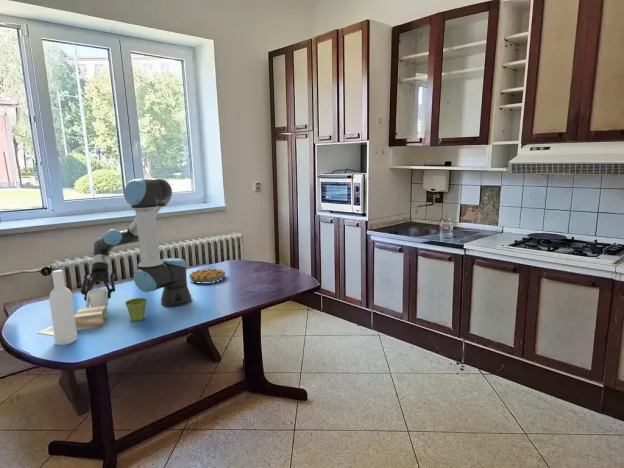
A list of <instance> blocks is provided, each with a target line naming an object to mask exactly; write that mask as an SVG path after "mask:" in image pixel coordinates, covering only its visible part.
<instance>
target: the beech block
mask: <svg viewBox="0 0 624 468" xmlns="http://www.w3.org/2000/svg"><path fill="white" fill-rule="evenodd" d="M107 312H108V311H107V309H106V306H99V307H91V306H89V308H87V307H83V308H82V307H79V309H78V310H77V311H76V312H75V313H74V315H75V323H76V331H79V330H86V329H87V330H89V329H90V330H91V329H97V328H103V327H104V325H105V322H106V321H107V318H108V313H107Z"/></svg>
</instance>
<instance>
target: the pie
mask: <svg viewBox="0 0 624 468" xmlns="http://www.w3.org/2000/svg"><path fill="white" fill-rule="evenodd" d="M225 275H226V272H225V271H224V270H223V269H217V268H214V269H212V268H209V269H206V268H205V269H202V270H201V269H198V270H196V271H192V272H191V273H189V276H188V278H189V279H190V280H191V282H192V281H193V282H200V283H201V282H202V283H203V282H213V281H217V280H220V279H221V278H224V276H225ZM193 282H192V283H193Z"/></svg>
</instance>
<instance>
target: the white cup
mask: <svg viewBox="0 0 624 468" xmlns="http://www.w3.org/2000/svg"><path fill="white" fill-rule="evenodd" d="M106 291H107V288H104V287H99V288H98V287H97V288H94V289H93V288H92V290H90V291H88V295H89V301H90V302H89V307H99V306H106V304H105V298H106ZM107 308H108V306H106V310H107Z"/></svg>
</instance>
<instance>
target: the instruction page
mask: <svg viewBox="0 0 624 468" xmlns="http://www.w3.org/2000/svg"><path fill="white" fill-rule="evenodd" d="M36 334H39V335H40V334H41V335H45V336H51V335H52V336H51V337H53V336H54V330H53V325H50V326H49V327H46V328H44V329H41V330H39V331H36Z"/></svg>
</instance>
